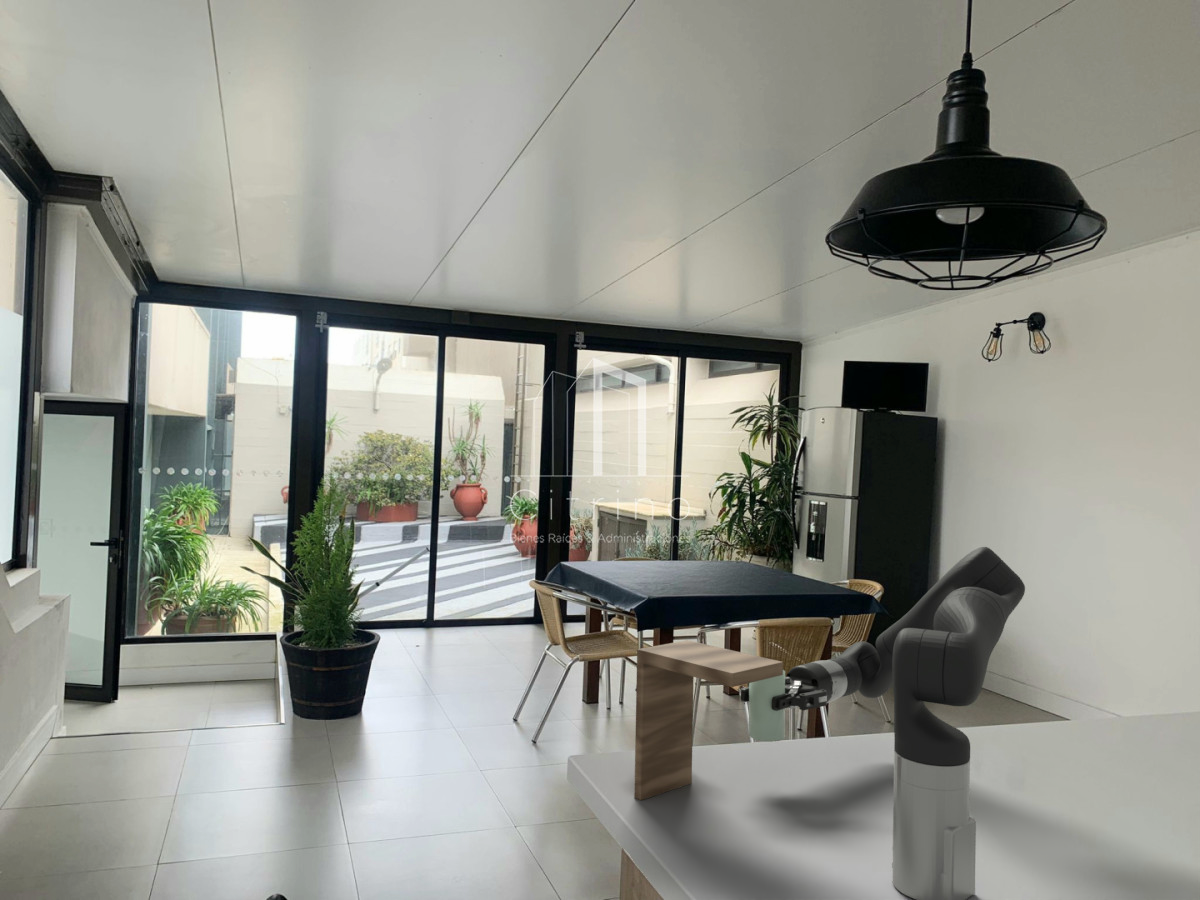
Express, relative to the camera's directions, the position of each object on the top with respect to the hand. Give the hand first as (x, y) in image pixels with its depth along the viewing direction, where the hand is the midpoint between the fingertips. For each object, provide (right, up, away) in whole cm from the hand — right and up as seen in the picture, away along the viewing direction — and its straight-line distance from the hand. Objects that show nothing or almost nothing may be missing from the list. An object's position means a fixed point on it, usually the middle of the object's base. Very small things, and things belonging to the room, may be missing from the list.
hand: (757, 699), depth 147 cm
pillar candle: (+2, -7, +2) cm, 7 cm away
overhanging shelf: (-10, -15, -9) cm, 20 cm away
